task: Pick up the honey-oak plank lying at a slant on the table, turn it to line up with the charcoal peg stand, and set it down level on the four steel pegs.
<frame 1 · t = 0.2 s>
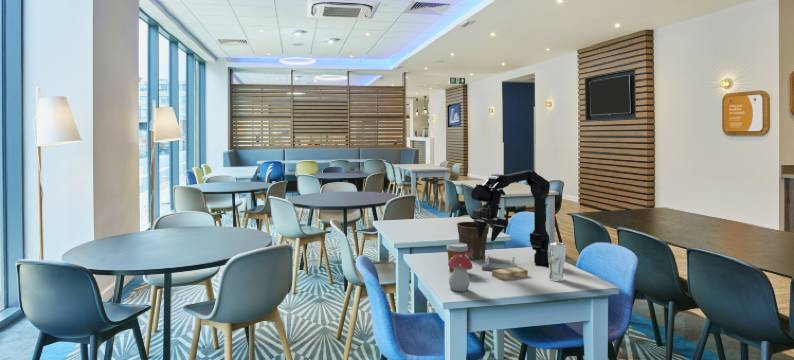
hand: (485, 239, 207), 15 cm above the table, tool pointing down, fingers open, 9 cm apart
decorative ornament: (459, 290, 185), on the table
lidded amber jar: (456, 272, 210), on the table
beer glass: (555, 279, 200), on the table
peg stand: (499, 269, 215), on the table
oak plank: (509, 277, 204), on the table
plant pot: (472, 257, 238), on the table
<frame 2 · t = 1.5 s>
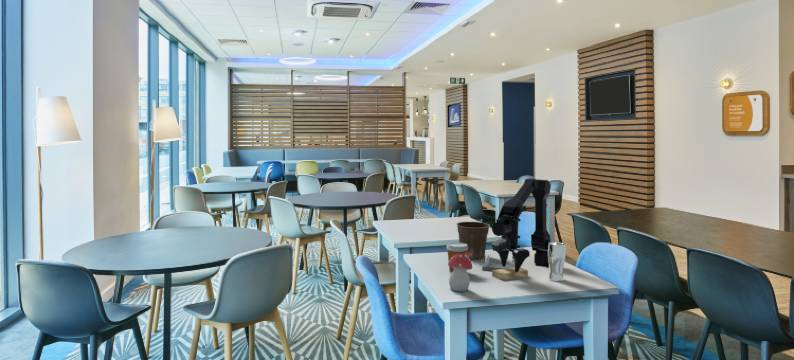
hand: (510, 269, 204), 3 cm above the table, tool pointing down, fingers open, 9 cm apart
nothing on the table moved.
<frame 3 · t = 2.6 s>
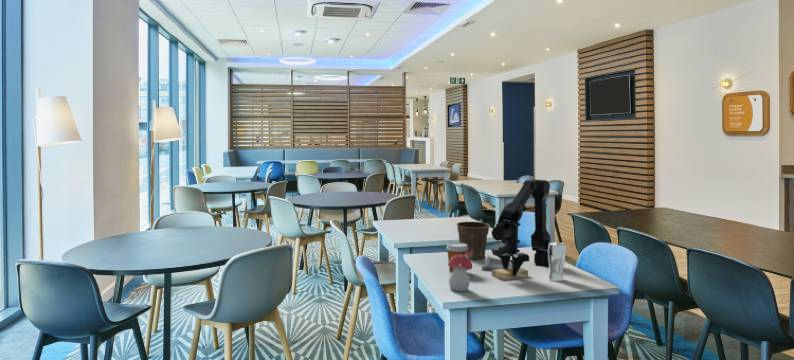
hand: (509, 273, 204), 1 cm above the table, tool pointing down, fingers closed on oak plank, 6 cm apart
oak plank: (509, 277, 204), on the table, touching gripper
everything else where it was.
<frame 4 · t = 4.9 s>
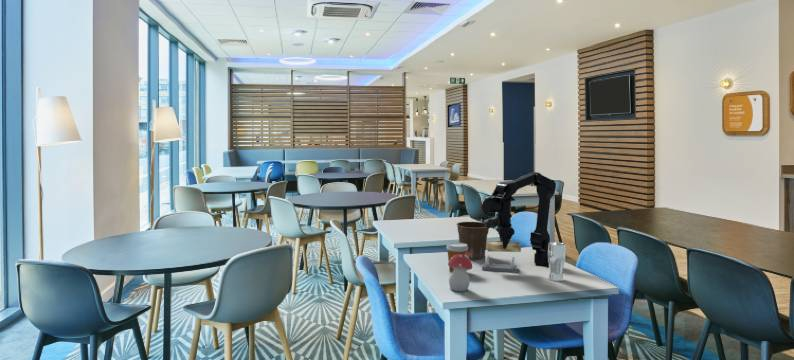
hand: (503, 246, 211), 11 cm above the table, tool pointing down, fingers closed on oak plank, 6 cm apart
oak plank: (503, 250, 211), point 9 cm above the table, touching gripper
everything else where it was.
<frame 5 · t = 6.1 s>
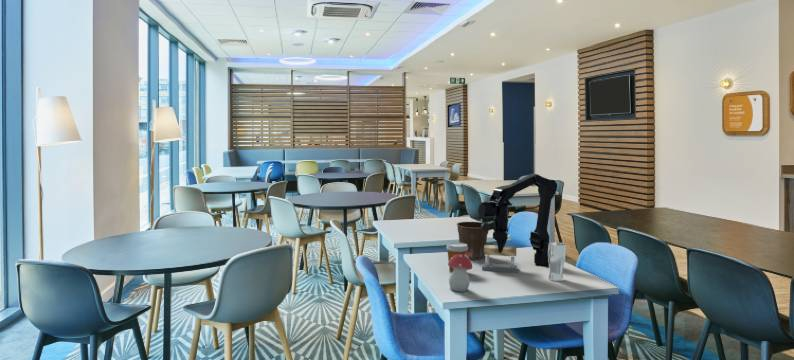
hand: (500, 250, 214), 8 cm above the table, tool pointing down, fingers closed on oak plank, 6 cm apart
oak plank: (500, 253, 214), point 7 cm above the table, touching gripper
everything else where it was.
when the fingers open (8 cm above the table, at t = 7.1 s): oak plank stays where it is, resting on peg stand.
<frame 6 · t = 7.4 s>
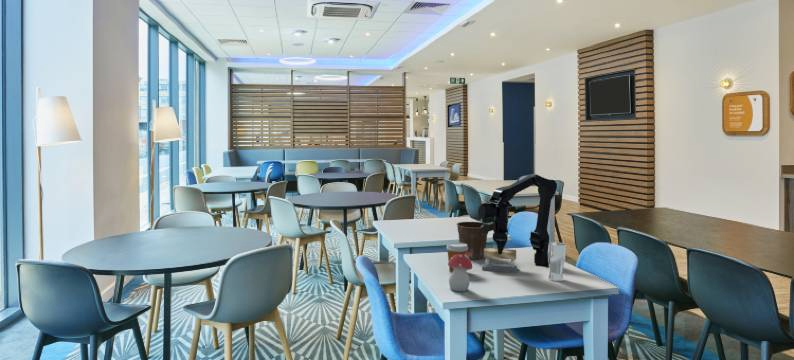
hand: (500, 252, 214), 8 cm above the table, tool pointing down, fingers open, 9 cm apart
oak plank: (499, 257, 214), point 5 cm above the table, touching peg stand
everything else where it was.
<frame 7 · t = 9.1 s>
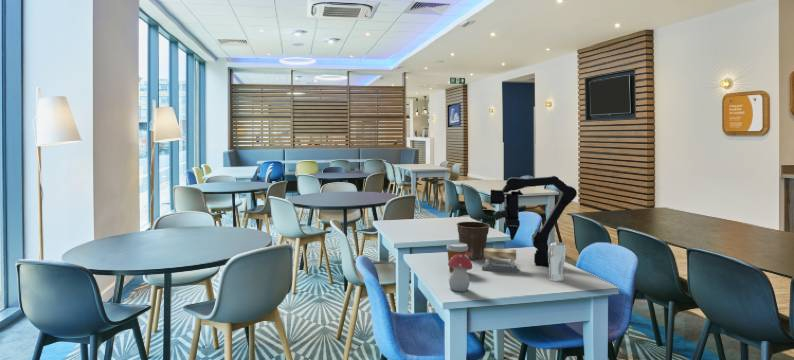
hand: (511, 237, 225), 12 cm above the table, tool pointing down, fingers open, 9 cm apart
nothing on the table moved.
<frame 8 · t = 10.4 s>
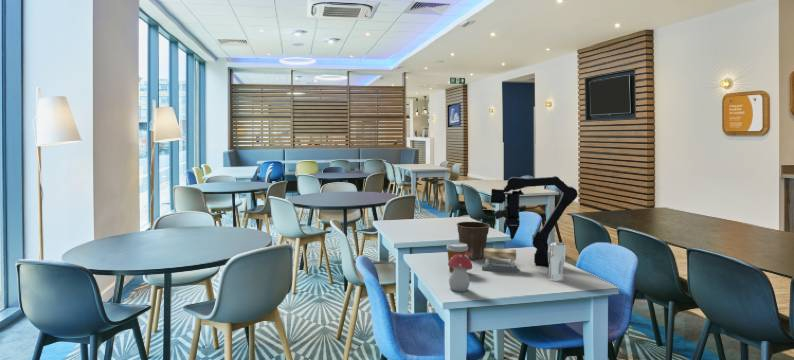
hand: (512, 237, 226), 12 cm above the table, tool pointing down, fingers open, 9 cm apart
nothing on the table moved.
at the end: oak plank 0.0 cm off-centre on the peg stand, point 5.5 cm above the peg stand's base; oak plank tilted 0°; oak plank touching peg stand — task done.
